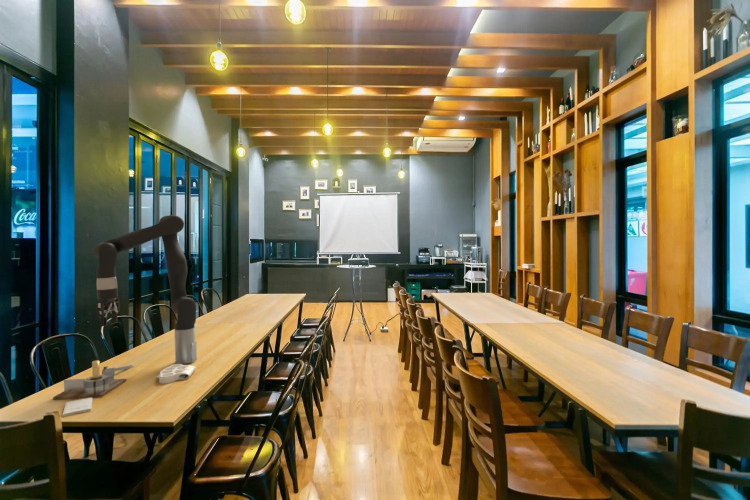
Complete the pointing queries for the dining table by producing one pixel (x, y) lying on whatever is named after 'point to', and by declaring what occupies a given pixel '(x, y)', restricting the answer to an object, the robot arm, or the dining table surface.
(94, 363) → the hinge pin
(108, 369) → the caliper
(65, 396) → the hinge board
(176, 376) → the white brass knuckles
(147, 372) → the dining table surface
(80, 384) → the hinge
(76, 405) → the external hard drive
